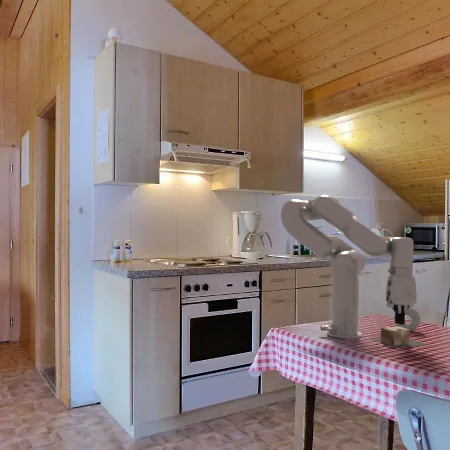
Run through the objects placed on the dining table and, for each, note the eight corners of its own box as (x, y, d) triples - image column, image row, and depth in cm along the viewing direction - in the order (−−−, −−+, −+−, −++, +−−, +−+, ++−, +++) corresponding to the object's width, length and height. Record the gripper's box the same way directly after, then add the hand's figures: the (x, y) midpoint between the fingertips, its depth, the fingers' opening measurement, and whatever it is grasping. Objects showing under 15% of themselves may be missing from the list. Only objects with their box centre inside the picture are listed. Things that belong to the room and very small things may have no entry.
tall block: (408, 344, 158) (390, 345, 155) (399, 340, 162) (380, 341, 160) (409, 329, 158) (390, 330, 155) (399, 326, 163) (381, 327, 160)
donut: (419, 332, 179) (420, 306, 179) (420, 333, 176) (421, 308, 176) (393, 329, 182) (393, 305, 182) (393, 331, 179) (394, 306, 179)
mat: (394, 348, 153) (394, 347, 153) (371, 339, 164) (371, 338, 164) (426, 346, 157) (426, 344, 157) (402, 337, 169) (402, 336, 169)
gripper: (391, 273, 154) (389, 327, 154) (425, 273, 159) (424, 325, 159) (376, 271, 161) (375, 322, 161) (410, 270, 166) (409, 320, 166)
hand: (399, 323), depth 160 cm, fingers closed
